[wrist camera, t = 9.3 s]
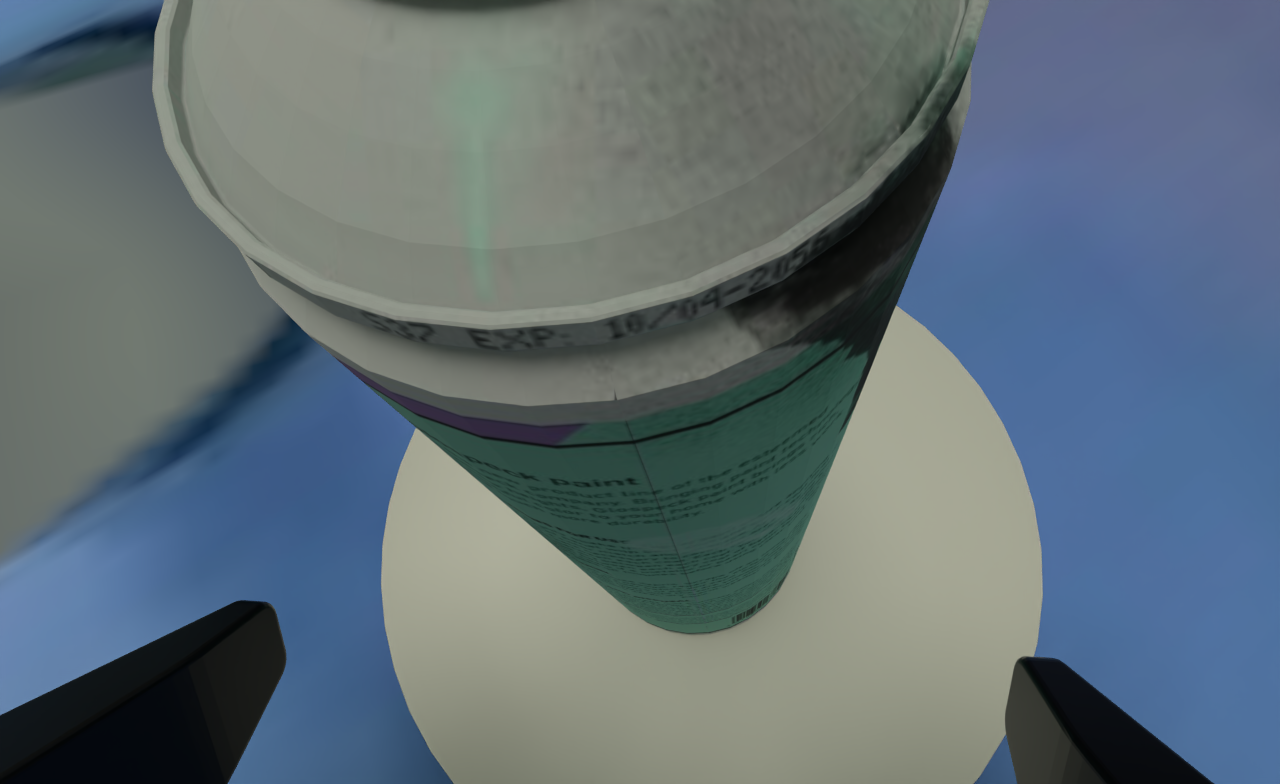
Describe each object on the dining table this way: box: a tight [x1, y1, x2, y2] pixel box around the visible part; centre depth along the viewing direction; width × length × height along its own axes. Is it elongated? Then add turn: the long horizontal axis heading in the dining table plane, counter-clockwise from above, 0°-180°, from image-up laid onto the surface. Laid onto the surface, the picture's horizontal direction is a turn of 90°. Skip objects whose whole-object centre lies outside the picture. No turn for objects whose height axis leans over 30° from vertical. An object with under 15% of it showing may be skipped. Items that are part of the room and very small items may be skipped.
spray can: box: [152, 0, 989, 635], centre depth 12 cm, size 6×6×20 cm
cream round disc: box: [381, 306, 1043, 784], centre depth 21 cm, size 18×18×1 cm
